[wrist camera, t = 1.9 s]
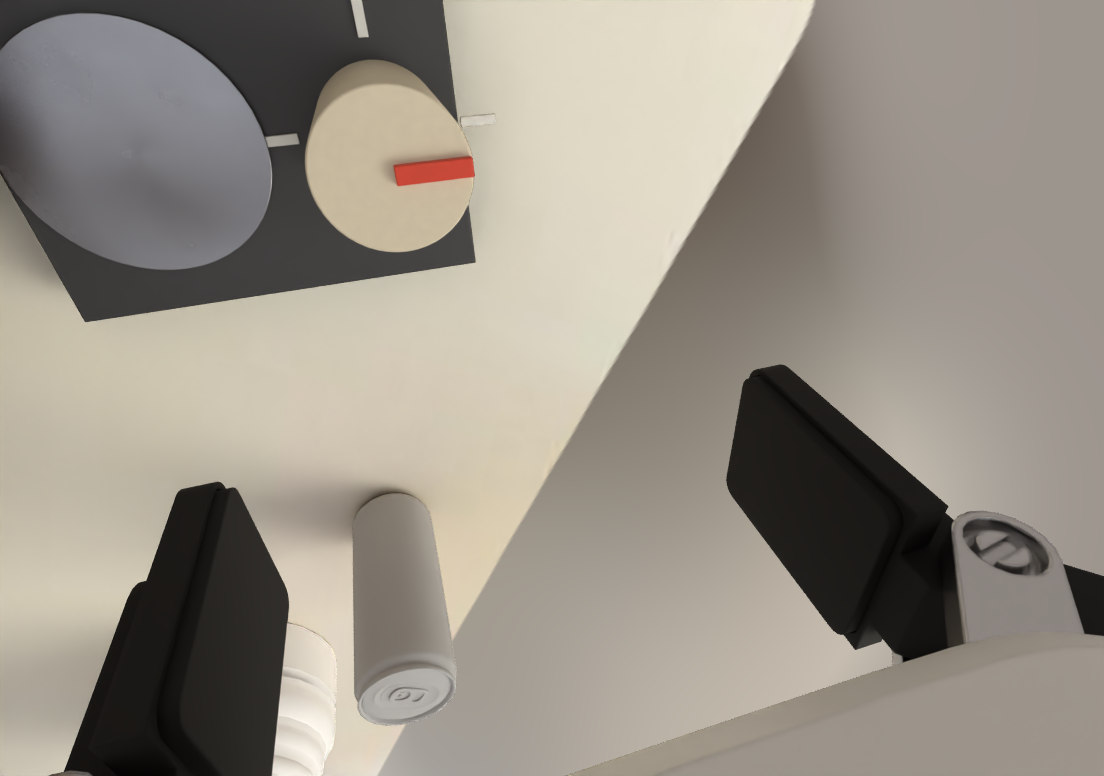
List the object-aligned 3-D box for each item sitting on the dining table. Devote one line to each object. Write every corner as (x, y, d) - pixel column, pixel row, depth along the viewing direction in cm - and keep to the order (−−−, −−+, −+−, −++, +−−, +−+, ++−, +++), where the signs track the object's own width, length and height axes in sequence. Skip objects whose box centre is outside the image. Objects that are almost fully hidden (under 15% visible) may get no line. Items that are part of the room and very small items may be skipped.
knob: (333, 199, 24) (330, 267, 18) (299, 64, 21) (280, 92, 15) (451, 184, 25) (484, 244, 19) (433, 54, 22) (464, 77, 16)
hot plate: (105, 297, 25) (83, 324, 23) (-77, -45, 19) (-132, -49, 16) (496, 239, 29) (508, 259, 27) (465, -64, 22) (478, -70, 20)
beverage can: (373, 479, 35) (383, 661, 25) (444, 499, 37) (477, 672, 28) (339, 534, 37) (336, 725, 27) (409, 549, 39) (429, 729, 30)
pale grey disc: (68, 283, 23) (65, 286, 22) (-80, 21, 18) (-86, 21, 17) (301, 250, 24) (300, 253, 24) (225, 4, 19) (224, 4, 19)
